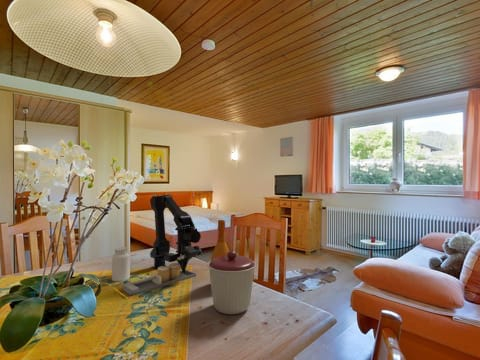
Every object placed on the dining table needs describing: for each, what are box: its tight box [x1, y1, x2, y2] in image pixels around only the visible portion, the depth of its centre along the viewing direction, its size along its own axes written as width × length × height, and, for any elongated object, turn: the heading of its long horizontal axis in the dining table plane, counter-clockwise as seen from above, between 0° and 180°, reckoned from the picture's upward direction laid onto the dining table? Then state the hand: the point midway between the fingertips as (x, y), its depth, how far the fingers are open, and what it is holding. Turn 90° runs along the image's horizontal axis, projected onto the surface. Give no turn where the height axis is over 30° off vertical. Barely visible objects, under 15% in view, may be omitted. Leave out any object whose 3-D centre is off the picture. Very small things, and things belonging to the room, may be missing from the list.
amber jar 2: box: [168, 262, 181, 281], centre depth 126 cm, size 6×6×7 cm
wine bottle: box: [210, 219, 230, 261], centre depth 118 cm, size 10×10×30 cm
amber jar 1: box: [156, 265, 170, 283], centre depth 122 cm, size 6×6×7 cm
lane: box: [122, 268, 197, 297], centre depth 121 cm, size 9×32×3 cm, turn 136°
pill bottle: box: [111, 246, 131, 282], centre depth 126 cm, size 8×8×15 cm
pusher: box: [133, 272, 162, 284], centre depth 116 cm, size 7×11×4 cm, turn 136°
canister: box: [207, 250, 257, 315], centre depth 98 cm, size 18×18×21 cm
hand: (183, 271), depth 129 cm, fingers closed
